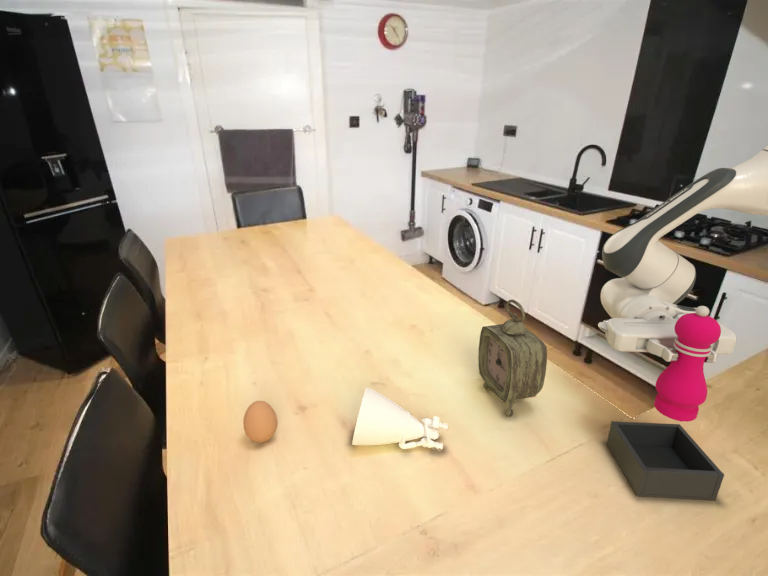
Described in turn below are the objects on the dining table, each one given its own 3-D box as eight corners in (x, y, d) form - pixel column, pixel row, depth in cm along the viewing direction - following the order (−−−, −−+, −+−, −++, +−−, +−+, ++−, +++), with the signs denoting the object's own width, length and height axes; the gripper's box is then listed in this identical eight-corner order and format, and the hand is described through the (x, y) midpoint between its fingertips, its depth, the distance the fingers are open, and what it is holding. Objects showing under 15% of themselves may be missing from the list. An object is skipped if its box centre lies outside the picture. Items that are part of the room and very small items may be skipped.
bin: (673, 447, 80) (679, 424, 78) (715, 500, 69) (724, 474, 67) (606, 444, 82) (611, 421, 80) (636, 496, 70) (643, 470, 68)
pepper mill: (684, 429, 67) (717, 319, 60) (641, 405, 73) (666, 303, 66) (708, 415, 71) (742, 309, 63) (665, 393, 77) (691, 294, 69)
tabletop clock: (476, 385, 102) (482, 292, 93) (508, 380, 104) (518, 287, 95) (506, 422, 88) (517, 317, 80) (543, 415, 90) (557, 311, 82)
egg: (244, 434, 87) (238, 398, 84) (276, 425, 89) (271, 389, 86) (248, 454, 81) (242, 416, 78) (282, 444, 84) (277, 407, 80)
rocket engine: (456, 402, 80) (367, 380, 80) (447, 465, 74) (351, 441, 75) (445, 414, 90) (365, 394, 91) (436, 469, 84) (352, 448, 85)
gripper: (597, 306, 80) (630, 339, 67) (708, 308, 78) (764, 343, 65) (592, 335, 82) (623, 373, 69) (700, 338, 80) (753, 377, 67)
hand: (692, 358), depth 67 cm, fingers closed on pepper mill, 4 cm apart
